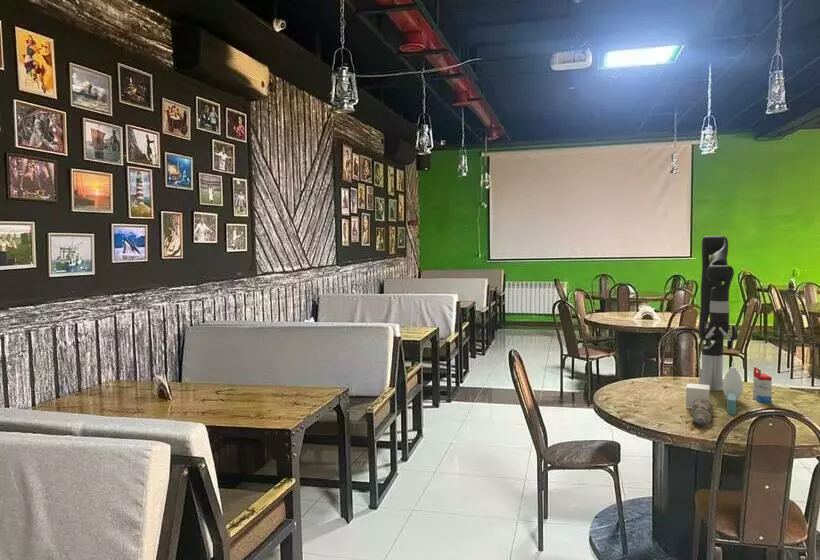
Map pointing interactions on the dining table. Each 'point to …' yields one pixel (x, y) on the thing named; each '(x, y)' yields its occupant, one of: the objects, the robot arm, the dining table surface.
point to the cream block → (696, 393)
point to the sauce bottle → (733, 382)
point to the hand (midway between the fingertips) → (718, 348)
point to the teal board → (731, 402)
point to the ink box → (762, 386)
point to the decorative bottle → (701, 411)
